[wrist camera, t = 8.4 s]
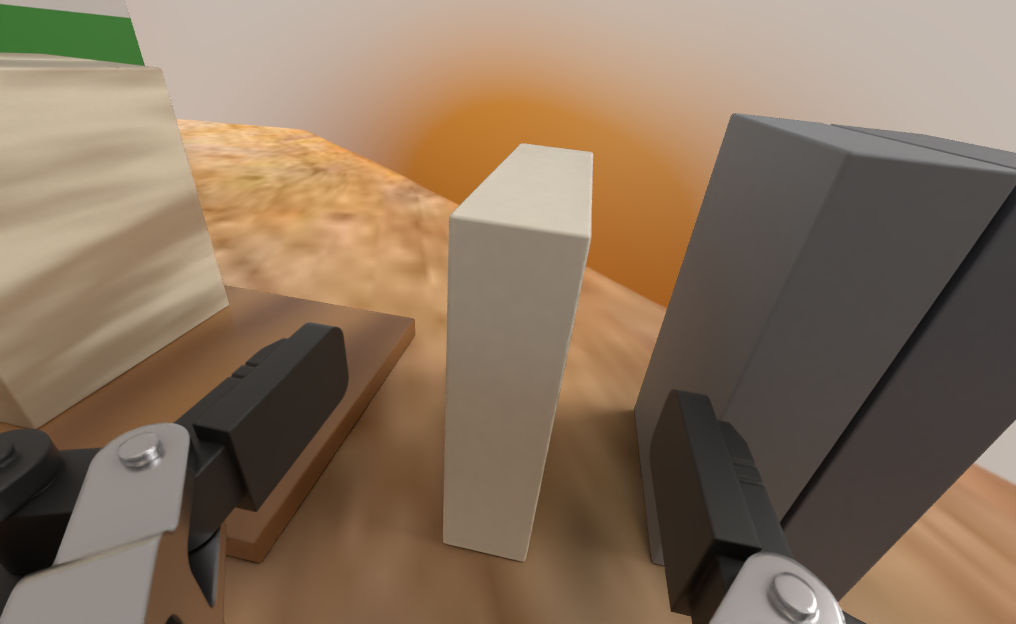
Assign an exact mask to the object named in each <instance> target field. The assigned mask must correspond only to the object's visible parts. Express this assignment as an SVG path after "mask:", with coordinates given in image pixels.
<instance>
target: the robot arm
mask: <svg viewBox="0 0 1016 624" xmlns="http://www.w3.org/2000/svg"><path fill="white" fill-rule="evenodd" d="M348 382H349V373H348V365H347V358H346V350H345V342H344V335H343V331H342V330H341V329H340V328H339V327H335V326H329V325H324V324H318V323H313V322H308V323H305V324H304V325H303V326H302V327H301V328H299V329H298V330H297V331H296V332H295V333H294V334H293V335H291V336H290V337H289V338H288V339H287V338H282V339H280V340H278V341H276V342H274V343H272V344H270V345H268V346H266V347H264V348H262V349H260V350H259V351H258V352H257V353H256V354H254V355H253V356H252V357H251V358H250V359H249V360H247V361H246V362H245V365H241V366H240V367H239V368H238V369H237V370H235V371H234V372H233V373H232V375H231V377H227V378H226V379H225V380H224V381H222V382H221V383H220V384H219V385H218V386H217V387H215V388H214V389H213V390H212V391H211V392H209V393H208V394H207V395H206V396H205V397H203V398H202V399H201V400H200V401H199V402H198V403H196V404H195V405H194V406H193V407H192V408H190V409H189V410H188V411H187V412H186V413H185V414H183V415H182V416H181V417H180V418H179V419H177V420H176V421H175V422H174V423H155V424H149V425H145V426H142V427H139V428H136V429H133V430H131V431H128V432H126V433H124V434H122V435H120V436H118V437H117V438H115V439H113V440H112V441H110V442H109V443H108V444H106V445H105V446H104V447H102V448H86V449H70V450H58V449H57V447H56V446H55V444H54V443H53V441H52V440H51V438H50V437H49V435H48V434H47V433H45V432H44V431H41V430H37V429H18V430H11V431H7V432H2V433H0V624H224V588H225V564H226V541H227V524H226V522H225V519H226V518H227V517H228V515H229V514H230V513H231V512H232V511H233V509H234V508H235V507H236V508H240V509H244V510H249V511H253V512H257V511H258V510H259V508H260V507H261V506H262V505H263V503H264V502H265V501H266V499H267V498H268V497H269V495H270V494H271V493H272V491H273V490H274V489H275V487H276V486H277V485H278V483H279V482H280V481H281V479H282V478H283V477H284V476H285V474H286V473H287V472H288V470H289V469H290V468H291V466H292V465H293V464H294V462H295V461H296V460H297V458H298V457H299V456H300V454H301V453H302V452H303V451H304V449H305V448H306V447H307V445H308V444H309V443H310V441H311V440H312V439H313V437H314V436H315V435H316V433H317V432H318V431H319V429H320V428H321V427H322V425H323V424H324V423H325V422H326V420H327V419H328V418H329V416H330V415H331V414H332V412H333V411H334V410H335V408H336V407H337V406H338V404H339V403H340V402H341V400H342V399H343V397H344V395H345V393H346V390H347V387H348ZM649 461H650V469H651V476H652V483H653V490H654V497H655V504H656V511H657V518H658V525H659V532H660V539H661V546H662V553H663V560H664V567H665V574H666V581H667V588H668V595H669V602H670V609H671V612H675V613H679V614H683V615H687V616H691V618H692V624H866V623H864V622H862V621H860V620H858V619H856V618H854V617H853V616H851V615H849V614H847V613H846V612H844V611H843V610H841V608H840V606H839V604H838V602H837V601H836V599H835V597H834V596H833V595H832V593H831V592H830V590H829V589H828V588H827V587H826V586H825V584H824V583H823V582H822V581H821V580H820V579H819V578H818V577H817V576H816V575H815V574H813V573H812V572H811V571H810V570H808V569H807V568H806V567H804V566H803V565H801V564H800V563H798V562H797V561H796V560H795V558H794V556H793V554H792V552H791V549H790V547H789V544H788V542H787V539H786V537H785V534H784V532H783V530H782V527H781V525H780V522H779V520H778V517H777V515H776V513H775V510H774V508H773V505H772V503H771V500H770V498H769V496H768V493H767V491H766V488H765V486H764V485H762V478H761V476H760V474H759V471H758V469H757V467H755V461H754V459H753V457H752V454H751V452H750V449H749V447H748V444H747V442H746V441H745V440H744V439H743V437H742V436H741V435H740V434H739V433H738V432H737V431H736V429H735V428H734V427H733V426H732V425H731V424H730V422H725V421H719V420H717V418H716V415H715V412H714V410H713V407H712V404H711V401H710V399H709V397H708V396H707V395H704V394H698V393H693V392H687V391H682V390H676V389H672V390H671V391H670V392H669V394H668V396H667V398H666V401H665V403H664V406H663V409H662V411H661V414H660V417H659V419H658V422H657V425H656V427H655V430H654V432H653V435H652V439H651V443H650V452H649Z"/></svg>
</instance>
